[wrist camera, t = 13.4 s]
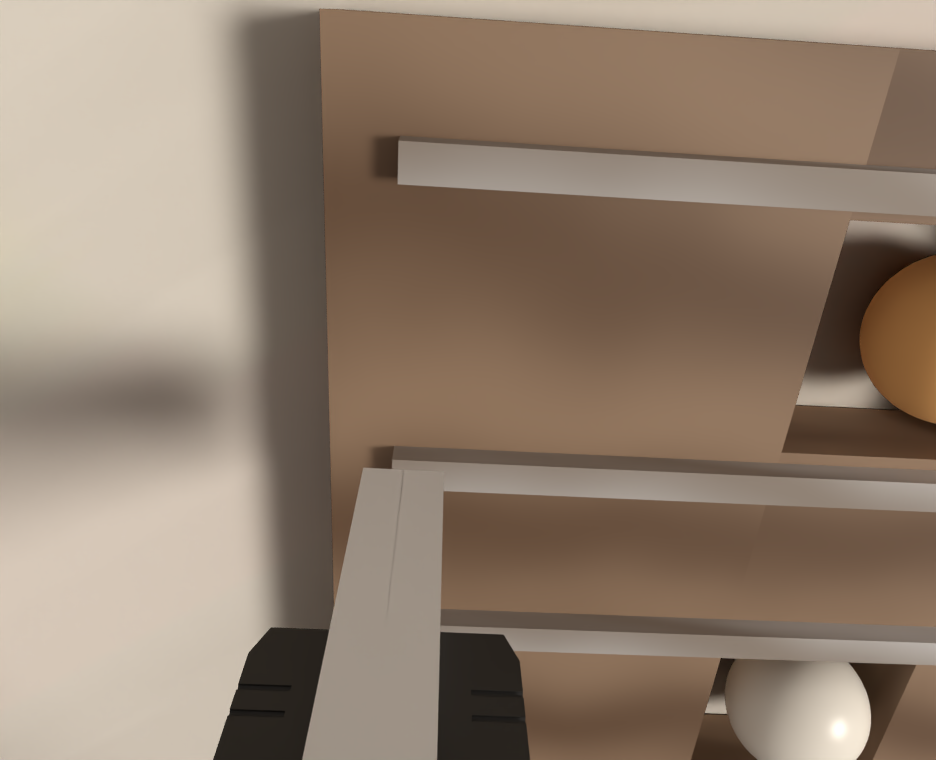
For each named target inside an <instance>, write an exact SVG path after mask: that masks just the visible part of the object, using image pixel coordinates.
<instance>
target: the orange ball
mask: <svg viewBox="0 0 936 760" xmlns="http://www.w3.org/2000/svg"><path fill="white" fill-rule="evenodd" d="M860 352H861V357H862V362H863V365H864V368H865V370H866V372H867V374H868V376H869V378H870V380H871V381H872V383H873V384H874V386H875V387H876V388H877V390H878V391H879V392H880V393H881V394H882V395H883V396H884V397H885V398H886V399H887V400H888V401H889V402H891V403H892V404H893V405H894V406H896V407H897V408H899V409H901V410H902V411H904V412H906V413H907V414H909V415H912V416H914V417H916V418H919V419H921V420H924V421H928V422H931V423H935V424H936V255H933V256H929V257H927V258H924V259H922V260H919V261H917V262H914V263H913V264H911V265H909V266H907V267H906V268H904V269H902V270H901V271H899V272H898V273H896V274H895V275H894V276H893V277H891V278H890V279H889V280H888V281H887V282H886V283H885V284H884V285H883V286H882V287H881V288H880V289H879V291H878V292H877V293H876V294H875V296H874V297H873V299H872V300H871V302H870V304H869V306H868V308H867V310H866V312H865V314H864V317H863V320H862V324H861V329H860Z"/></svg>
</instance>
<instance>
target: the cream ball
mask: <svg viewBox="0 0 936 760" xmlns="http://www.w3.org/2000/svg"><path fill="white" fill-rule="evenodd" d="M725 703H726V710H727V714H728V717H729V720H730V723H731V726H732V728H733V730H734V732H735V734H736V735H737V737H738V739H739V740H740V742H741V743H742V744H743V746H744V747H745V748H746V749H747V750H748V751H749V753H750V754H752V755H753V756H754V757H755V758H756V759H757V760H856V759H857V758H858V757H859V755H860V754H861V752H862V751H863V749H864V747H865V745H866V743H867V740H868V737H869V733H870V727H871V710H870V703H869V699H868V695H867V693H866V690H865V688H864V686H863V683H862V681H861V679H860V678H859V676H858V675H857V673H856V672H855V670H854V669H853V667H852V666H851V665H850V664H849V663H848V662H822V661H793V660H764V659H735V661H734V662H733V664H732V666H731V668H730V670H729V673H728V676H727V680H726V686H725Z"/></svg>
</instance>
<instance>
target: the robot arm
mask: <svg viewBox="0 0 936 760" xmlns="http://www.w3.org/2000/svg"><path fill="white" fill-rule="evenodd" d="M443 491H444V472H442V471H421V470H400V469H380V468H363V471H362V476H361V481H360V486H359V491H358V495H357V500H356V505H355V510H354V514H353V519H352V524H351V529H350V534H349V538H348V543H347V548H346V553H345V557H344V562H343V567H342V572H341V577H340V581H339V586H338V591H337V596H336V600H335V605H334V610H333V615H332V620H331V624H330V629H329V630H323V629H297V628H270V629H269V630H268V632H267V633H266V634H265V635H264V636H263V637H262V638H261V639H260V641H259V642H258V643H257V644H256V645H255V646H254V647H253V649H252V650H251V651H250V652H249V653H248V656H247V659H246V662H245V665H244V668H243V671H242V674H241V677H240V680H239V683H238V690H236V692H235V695H234V698H233V701H232V704H231V707H230V714H229V716H227V719H226V722H225V726H224V729H223V732H222V735H221V738H220V741H219V744H218V747H217V750H216V753H215V756H214V759H213V760H530V754H529V745H528V735H527V725H526V722H525V718H526V716H525V706H524V698H523V687H522V677H521V667H520V661H519V659H518V657H517V656H516V654H515V652H514V651H513V649H512V647H511V646H510V644H509V642H508V641H507V639H506V638H505V636H504V634H479V633H453V632H440V616H441V574H442V533H443Z"/></svg>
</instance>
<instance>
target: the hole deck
mask: <svg viewBox="0 0 936 760" xmlns="http://www.w3.org/2000/svg"><path fill="white" fill-rule="evenodd" d="M319 10H320V51H321V93H322V134H323V176H324V217H325V259H326V300H327V342H328V383H329V424H330V466H331V507H332V549H333V590H334V605H335V600H336V596H337V591H338V586H339V581H340V577H341V572H342V567H343V562H344V557H345V553H346V548H347V543H348V538H349V534H350V529H351V524H352V519H353V514H354V510H355V505H356V500H357V495H358V491H359V486H360V481H361V476H362V471H363V468H380V469H400V470H421V471H442V472H444V491H443V533H442V574H441V616H440V632H453V633H479V634H504V636H505V638H506V639H507V641H508V642H509V644H510V646H511V647H512V649H513V651H514V652H515V654H516V656H517V657H518V659H519V661H520V667H521V677H522V687H523V698H524V706H525V716H526V718H525V722H526V725H527V735H528V745H529V754H530V760H757V759H756V758H755V757H754V756H753V755H752V754H750V753H749V751H748V750H747V749H746V748H745V747H744V746H743V744H742V743H741V742H740V740H739V739H738V737H737V735H736V734H735V732H734V730H733V728H732V726H731V723H730V720H729V717H728V715H712V714H704V713H705V710H706V707H707V703H708V700H709V696H710V693H711V690H712V686H713V683H714V679H715V676H716V673H717V669H718V666H719V663H720V659H721V658H735V659H764V660H793V661H822V662H848V663H849V664H850V665H851V666H852V667H853V669H854V670H855V672H856V673H857V675H858V676H859V678H860V679H861V681H862V683H863V686H864V688H865V690H866V693H867V695H868V699H869V703H870V710H871V727H870V733H869V737H868V740H867V743H866V745H865V747H864V749H863V751H862V752H861V754H860V755H859V757H858V758H857V759H856V760H936V424H935V423H931V422H928V421H924V420H921V419H919V418H916V417H914V416H912V415H909V414H907V413H906V412H904V411H899V410H878V409H858V408H837V407H817V406H796V401H797V398H798V395H799V391H800V388H801V384H802V381H803V378H804V374H805V371H806V367H807V364H808V361H809V357H810V354H811V350H812V347H813V344H814V340H815V337H816V333H817V330H818V327H819V323H820V320H821V316H822V313H823V310H824V306H825V303H826V300H827V296H828V293H829V289H830V286H831V283H832V279H833V276H834V272H835V269H836V266H837V262H838V259H839V255H840V252H841V249H842V245H843V242H844V238H845V235H846V232H847V228H848V225H849V221H850V220H858V221H875V222H892V223H909V224H926V225H936V51H934V50H919V49H905V48H890V47H876V46H862V45H847V44H833V43H818V42H804V41H789V40H775V39H761V38H746V37H732V36H717V35H703V34H689V33H674V32H660V31H645V30H631V29H617V28H602V27H588V26H573V25H559V24H545V23H530V22H516V21H501V20H487V19H472V18H458V17H444V16H429V15H415V14H400V13H386V12H372V11H357V10H343V9H319Z"/></svg>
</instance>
